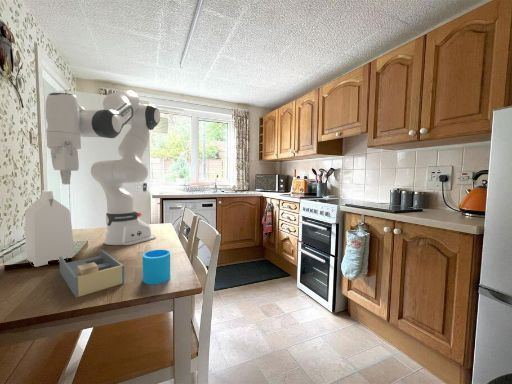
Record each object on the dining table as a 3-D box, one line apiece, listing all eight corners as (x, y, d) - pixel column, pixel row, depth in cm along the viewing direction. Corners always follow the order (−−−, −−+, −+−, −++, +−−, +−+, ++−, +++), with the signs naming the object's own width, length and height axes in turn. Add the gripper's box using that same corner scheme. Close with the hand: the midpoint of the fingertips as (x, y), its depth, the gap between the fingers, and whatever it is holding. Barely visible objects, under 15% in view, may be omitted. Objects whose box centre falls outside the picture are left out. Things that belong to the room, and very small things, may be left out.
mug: (172, 281, 75) (172, 255, 74) (143, 286, 71) (143, 259, 70) (166, 267, 85) (166, 245, 84) (141, 271, 81) (140, 248, 80)
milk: (74, 257, 92) (72, 190, 90) (35, 266, 83) (31, 192, 81) (62, 251, 99) (60, 189, 97) (25, 259, 89) (21, 190, 87)
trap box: (101, 263, 87) (101, 248, 87) (124, 282, 72) (123, 265, 72) (59, 273, 78) (59, 256, 78) (75, 297, 64) (75, 277, 63)
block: (94, 275, 70) (94, 262, 70) (98, 279, 68) (98, 265, 67) (77, 279, 67) (77, 265, 67) (81, 284, 65) (80, 270, 64)
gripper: (83, 141, 74) (85, 185, 75) (69, 145, 88) (71, 182, 89) (57, 139, 70) (59, 186, 71) (47, 143, 83) (48, 183, 84)
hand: (66, 184), depth 80 cm, fingers closed
